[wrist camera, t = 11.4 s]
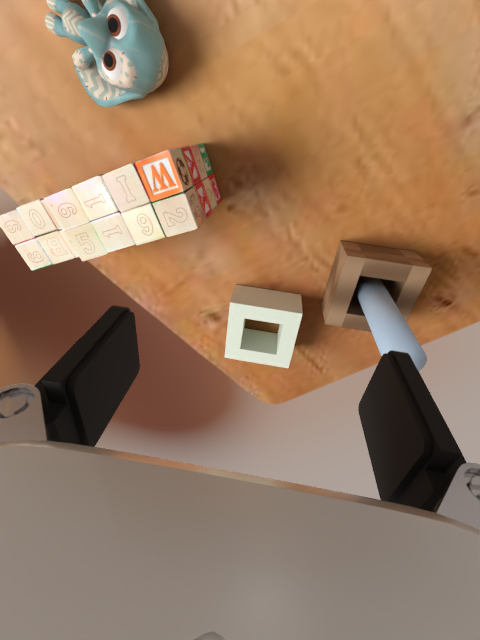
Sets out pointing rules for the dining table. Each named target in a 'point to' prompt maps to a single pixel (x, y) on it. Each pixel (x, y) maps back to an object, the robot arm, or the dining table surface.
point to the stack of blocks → (117, 209)
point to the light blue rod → (387, 320)
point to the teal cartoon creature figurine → (113, 47)
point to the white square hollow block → (267, 309)
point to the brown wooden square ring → (378, 262)
